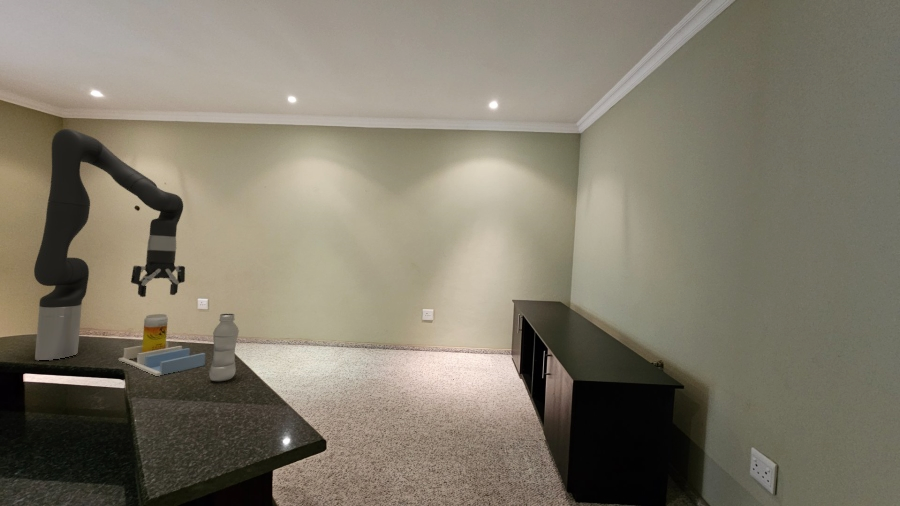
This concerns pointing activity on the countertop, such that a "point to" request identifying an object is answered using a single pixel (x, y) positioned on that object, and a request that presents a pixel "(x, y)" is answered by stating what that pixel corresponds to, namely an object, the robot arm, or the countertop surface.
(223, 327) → the plastic bottle
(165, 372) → the rack
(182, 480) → the countertop surface
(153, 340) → the beer can
